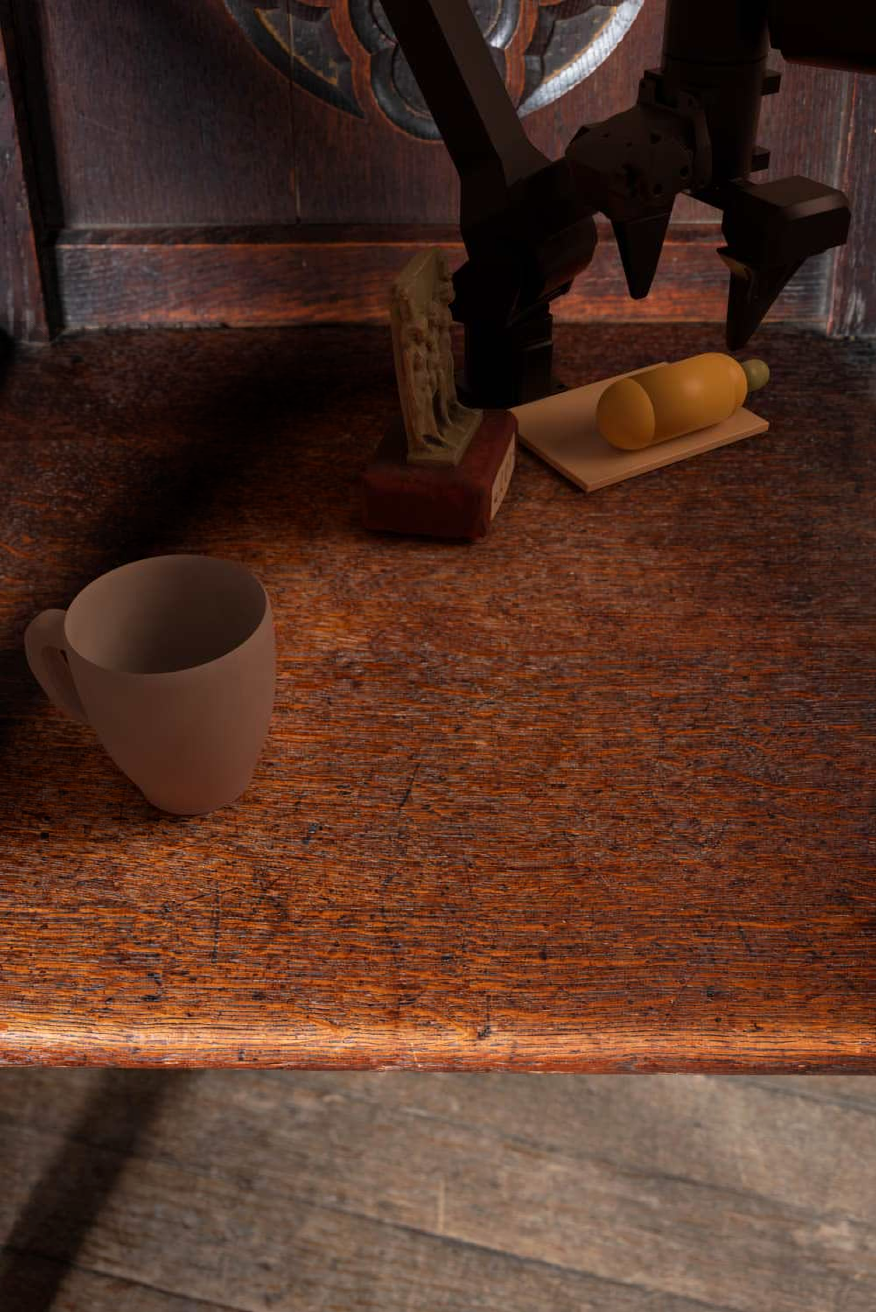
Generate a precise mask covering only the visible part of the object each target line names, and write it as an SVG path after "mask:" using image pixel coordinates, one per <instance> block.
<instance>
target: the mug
mask: <svg viewBox="0 0 876 1312" xmlns="http://www.w3.org/2000/svg"><path fill="white" fill-rule="evenodd" d="M24 650H25V656H26V659H27V663H28V666H29V669H30V670H31V672H32V674H33V675H34V677H35V679H36V681H37V683H39V685H40V687H41V688H42V690H43V691H44V692H45V694H46V695H47V697H48V698H49V700H50V701H51V702H52V704H54V706H55V707H56V708H58V710H59V711H60V712H61V713H62V714H64V715H65V717H67V718H70V719H71V720H73V721H76V722H78V723H80V724H83V725H84V726H88V727H90V728H92V729H93V730H94V732H95V734H96V736H97V738H98V740H99V741H100V743H101V745H102V746H103V748H104V750H105V751H106V753H107V754H108V755H109V757H110V758H111V760H112V761H113V762H114V764H115V765H116V766H117V767H118V768H119V770H121V771H122V772H123V774H125V775H126V777H127V778H128V779H130V780H131V782H133V783H134V785H136V786H137V787H138V788H139V790H140V791H141V792H142V795H143V796H144V797H145V799H146V800H147V801H148V802H149V803H150V804H151V805H152V806H154V807H156V808H157V809H159V810H161V811H164V812H167V813H169V814H173V815H183V816H193V815H194V816H196V815H203V814H206V813H211V812H214V811H217V810H219V809H222V808H224V807H226V806H228V805H229V804H232V803H233V802H234V801H236V800H237V799H239V798H240V797H241V795H243V794H244V793H245V792H246V791H247V789H248V787H249V786H250V784H251V783H252V780H253V776H254V772H255V767H256V764H257V761H258V759H259V757H260V754H261V752H262V750H263V748H264V745H265V742H266V739H267V737H268V733H269V729H270V725H271V722H272V717H273V712H274V705H275V696H276V688H277V687H276V684H277V649H276V631H275V624H274V614H273V609H272V605H271V600H270V597H269V594H268V592H267V589H266V587H265V586H264V585H263V584H262V582H261V581H260V580H259V579H258V578H257V577H255V576H254V574H252V573H251V572H249V570H247V569H245V568H244V567H242V566H240V565H238V564H236V563H233V562H231V561H229V560H226V559H222V558H218V557H213V556H208V555H202V554H169V555H159V556H154V557H149V558H145V559H140V560H137V561H133V562H129V563H126V564H125V565H122V566H119V567H117V568H115V569H112V570H110V571H108V572H107V573H104V574H102V575H101V576H99V577H97V578H96V579H94V580H93V581H92V582H90V583H89V584H88V585H87V586H86V587H84V588H83V589H82V590H81V591H80V592H79V593H78V594H77V596H76V597H75V598H74V599H73V600H72V602H71V604H70V605H69V607H68V609H67V610H64V609H59V608H50V609H45V610H43V611H41V612H40V613H39V614H38V615H37V616H36V617H34V618H33V619H32V620H31V622H30V623H29V624H28V625H27V627H26V629H25V632H24ZM61 651H64V652H65V656H66V659H67V661H66V660H65V658H64V656H63V654H62V652H61Z"/></svg>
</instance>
